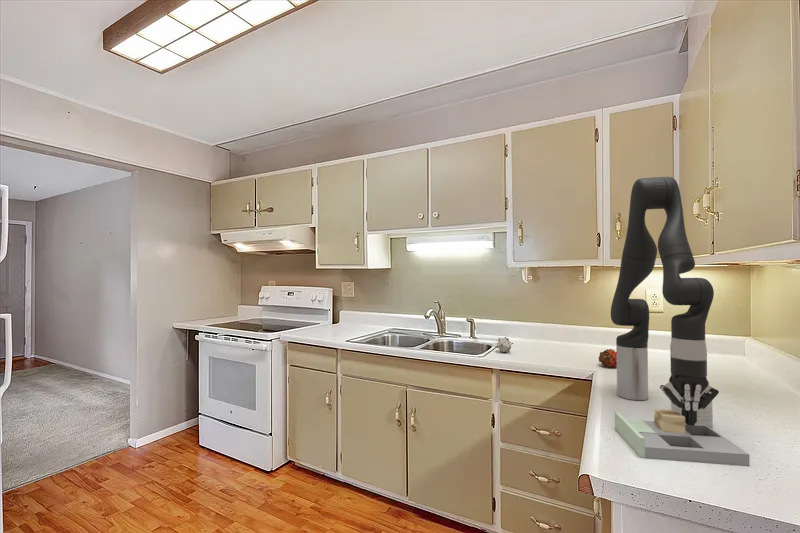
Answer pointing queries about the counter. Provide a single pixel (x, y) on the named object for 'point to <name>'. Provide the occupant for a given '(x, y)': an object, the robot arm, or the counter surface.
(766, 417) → the counter surface
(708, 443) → the grey slotted tray
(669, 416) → the block
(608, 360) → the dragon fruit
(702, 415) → the small box
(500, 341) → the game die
